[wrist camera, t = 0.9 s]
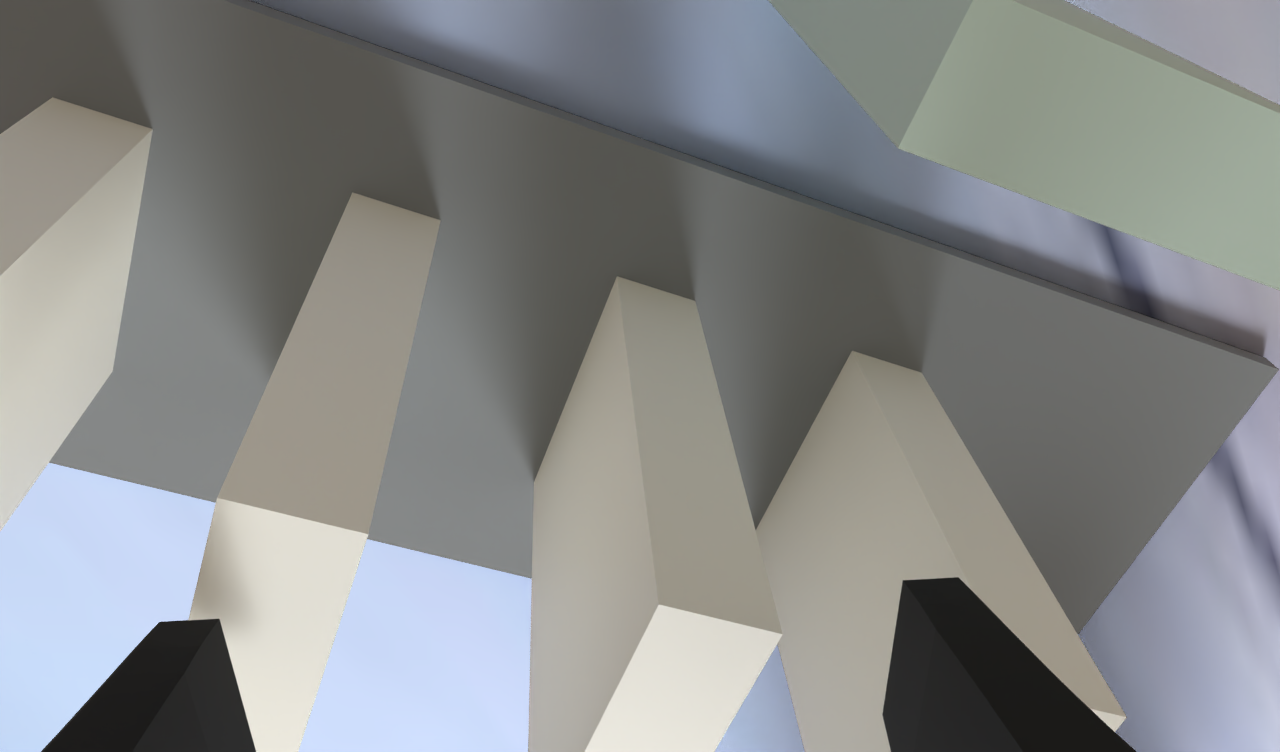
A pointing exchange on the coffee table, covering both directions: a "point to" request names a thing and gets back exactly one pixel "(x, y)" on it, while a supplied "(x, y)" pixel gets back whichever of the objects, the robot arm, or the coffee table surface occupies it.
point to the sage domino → (1065, 116)
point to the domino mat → (571, 292)
